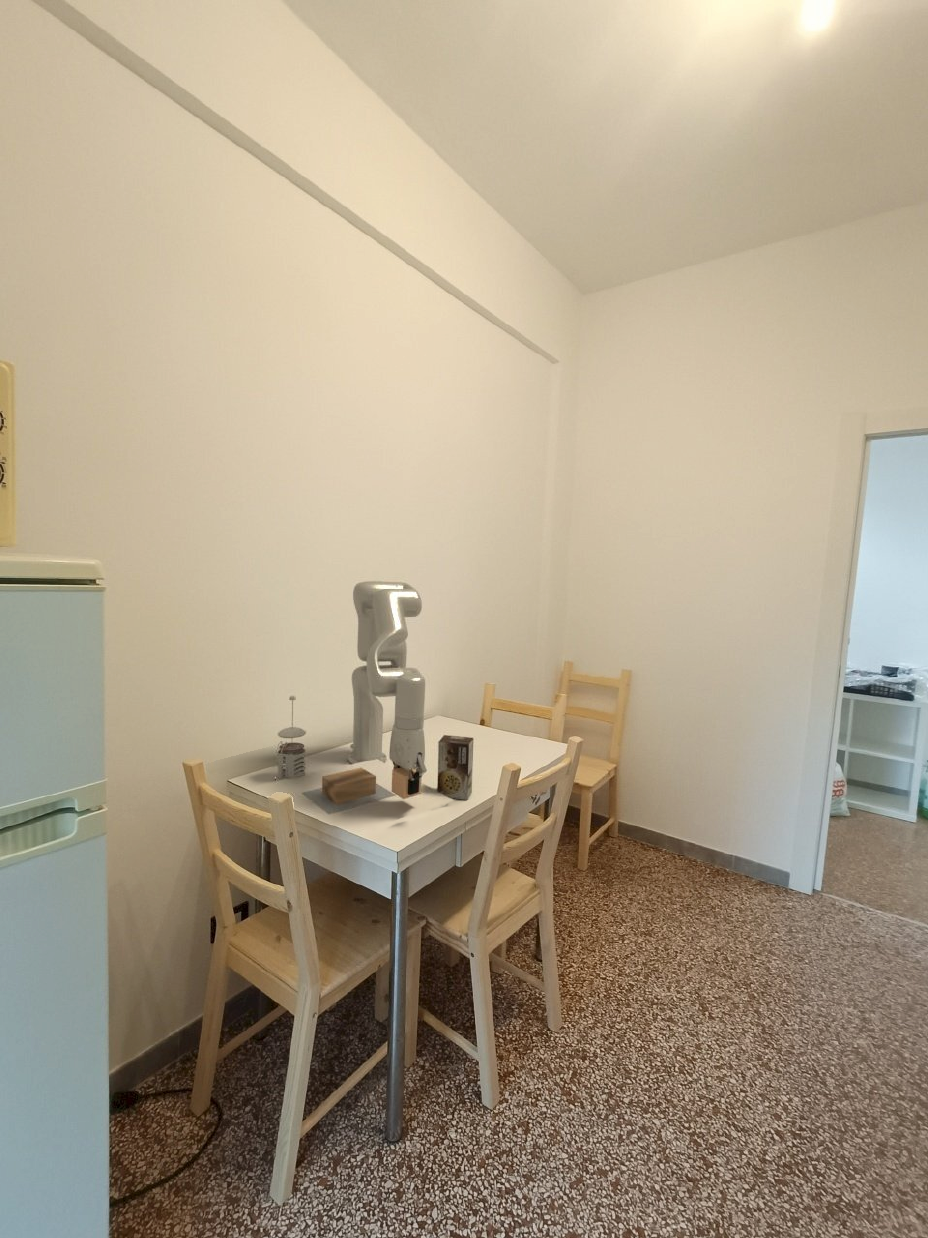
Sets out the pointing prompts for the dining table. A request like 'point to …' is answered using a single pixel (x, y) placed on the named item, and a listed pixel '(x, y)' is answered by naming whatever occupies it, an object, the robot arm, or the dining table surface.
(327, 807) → the base plate
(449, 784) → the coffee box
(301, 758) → the french press
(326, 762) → the dining table surface
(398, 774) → the peach cube
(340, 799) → the walnut brick
